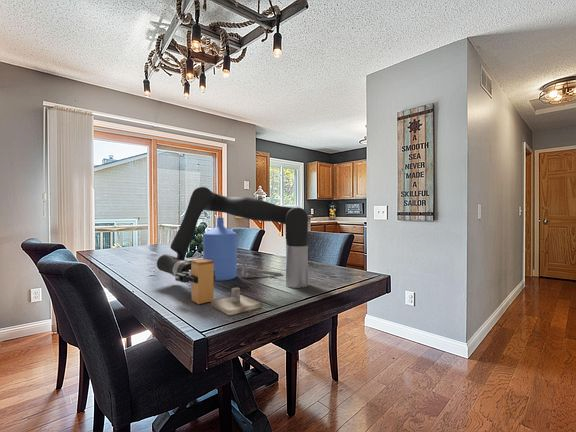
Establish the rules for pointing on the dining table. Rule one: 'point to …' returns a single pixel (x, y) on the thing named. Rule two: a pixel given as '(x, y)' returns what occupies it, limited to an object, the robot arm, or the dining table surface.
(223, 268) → the water jug
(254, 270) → the caliper
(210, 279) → the orange tall block
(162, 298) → the dining table surface
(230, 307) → the stub plate
